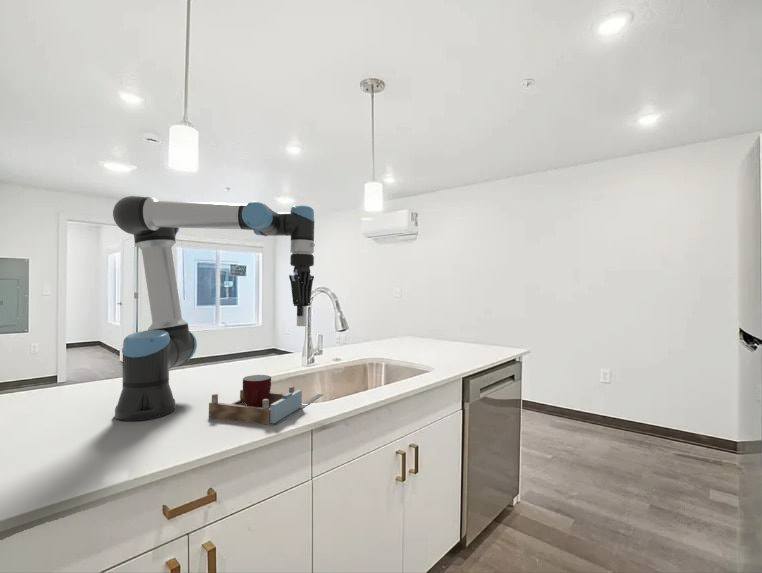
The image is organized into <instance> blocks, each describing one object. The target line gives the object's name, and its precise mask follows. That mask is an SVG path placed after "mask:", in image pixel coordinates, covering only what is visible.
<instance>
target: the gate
mask: <svg viewBox="0 0 762 573" xmlns="http://www.w3.org/2000/svg"><path fill="white" fill-rule="evenodd" d="M302 396H303V390H301V389H297V390H294V392H293V393H289V392H285V394H284V395H282V399H280V400H278V401H276V402H274V403H273V404H271V406H270V408H271V414H270V423H276V422H278V421H279V420H281V419H282V418H284V417H286V416H287V415H289V414H290V413H292V412H294V411H295V410H297V409H298V408H300V407H302V404H303V403H302V398H303V397H302Z"/></svg>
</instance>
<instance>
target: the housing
mask: <svg viewBox="0 0 762 573" xmlns="http://www.w3.org/2000/svg"><path fill="white" fill-rule="evenodd" d="M293 392H295V386H291V385H290V386H288V393H293ZM284 394H286V392H285V393H283V392H272V391H270V394H269V399H264V400H263V408H262V407H253V406H246V405H242V404H245V398H244V393H243V388H242V389H240V391H239V400H237V401H234V402H232V403H226V402H225V403H224V402H223V403H222V402H219V394H218V393H212V394H211V402H208V418H212V419H220V420H222V419H223V420H228V421H237V422H243V423H253V424H262V425H270V426H274V427H275V426H277V425H279V424H280V423H282V422H284V421H285V420H287V419H288V418H289V417H292V416H293V415H294V413H295V414H296V413H297V412H299V411H301V410H303V408H306V407H307V406H308V405H302V407H300V408H298V409H297V410H295V411H294V412H292V413H290V414H289V415H287V416H286V417H284V418H282V419H281V420H279V421H278V422H276V423H270V414H271V404H273V403H274V402H276V401H278V400H280V399H282V395H284ZM323 396H324V394H320V393H318V394H315V395H314V396H312V397H310V398H309V399H307V400H306V401H304V402H303V403H302V404H309V405H310V404H312V403H313V402H315V401H317V400H318V399H320V398H321V397H323ZM305 406H306V407H305Z"/></svg>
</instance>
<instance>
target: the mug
mask: <svg viewBox="0 0 762 573" xmlns="http://www.w3.org/2000/svg"><path fill="white" fill-rule="evenodd" d="M271 388H272V377H271V376H270V375H269V374H268V375H267V374H254V375H248V376H244V377H243V378H242V389H243V393H244V398H245V403H244V404H245V406H253V407H262V408H263V400H264V399H269V394H270V392H271Z"/></svg>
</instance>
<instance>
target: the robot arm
mask: <svg viewBox="0 0 762 573" xmlns="http://www.w3.org/2000/svg"><path fill="white" fill-rule="evenodd" d="M314 212H315V211H314V209H313V207H311V206H308V205H293V206H292V207H291V208H290V211H289V212H277V211H276V212H275V211H274V210H272V209H271V208H270V207H269V206H267V204H265V203H262V202H259V201H251V202H249V203H231V202H229V203H228V202H227V203H226V202H199V201H197V202H196V201H195V202H194V201H166V200H165V201H163V200H158V199H157V198H155V197H152V196H150V197H149V196H140V195H139V196H137V195H129V196H125V197H123V198H121V199H119V200H118V201H117V202H116V203H115V205H114V207H113V210H112V216H113V220H114V223H115V224H116V226H117V227H118V228H119V229H120V230H121V231H123V232H125V233H127V234H130V235H133V238H134V245H135V246H136V247H137V248H138V249H140V250H141V255H142V261H143V268H144V275H145V282H146V290H147V296H148V302H149V308H150V310H149V311H150V315H151V321H152V323H151V325H150V326H149V327H148V328H147V330H143V331H136V332H134V333H133V332H132V333H130V334H128V335H127V336H126V337H125V338H124V339H123V343H122V349H121V353H122V387H121V388H122V389H121V393H120V396H119V398H118V401H117V405H116V406H115V409H114V418H115V419H116V420H119V421H123V422H125V421H126V422H137V421H138V422H139V421H144V420H145V421H146V420H152V419H157V418H160V417H163V416H166V415H169V414H171V413H173V412H175V410H176V400H175V398H174V396H173V393H172V389H171V386H170V369H172V368H175V367H179V366H182V365H184V364H185V363H187V362H188V361H189V360H190V359H191V358H192V357H193V356H194V355H195V353H196V350H197V347H198V342H197V339H196V336H195V334H194V333H192V332H191V331H190V328H189V323H188V322H187V321H186V320H185V319H183V317H182V310H181V309H182V308H181V304H180V297H179V289H178V284H177V283H178V282H177V276H176V275H177V274H176V270H175V262H174V256H173V247H174V245H175V244H176V235H177V234H178V232H179V230H180V229H181V228H183V229H184V228H185V229H187V228H188V229H189V228H190V229H211V230H212V229H217V230H218V229H219V230H247V231H253V233H254V235H256V236H264V237H269V236H274V237H275V236H277V237H278V236H283V237H284V236H287V237H290V253H291V254H290V258H289V259H290V263H289V264H290V266H292V267H293V273H292V274H289V275H288V277H289V281H290V288H291V289H290V290H291V298H292V304H293V306H294V307H296V327H307V308H308V307H310V304H311V299H312V298H311V297H312V290H313V282H314V279H315V276H314V275H311V267H314V264H315V256H314V255H313V254H314V252H315V245H316V244H315V224H316V223H315V213H314Z"/></svg>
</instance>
